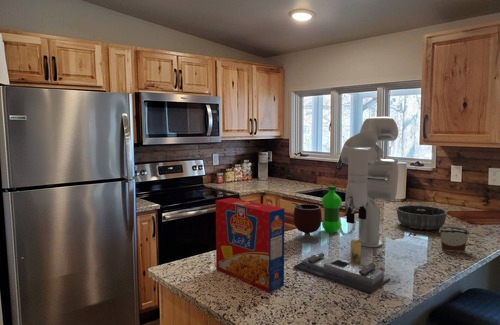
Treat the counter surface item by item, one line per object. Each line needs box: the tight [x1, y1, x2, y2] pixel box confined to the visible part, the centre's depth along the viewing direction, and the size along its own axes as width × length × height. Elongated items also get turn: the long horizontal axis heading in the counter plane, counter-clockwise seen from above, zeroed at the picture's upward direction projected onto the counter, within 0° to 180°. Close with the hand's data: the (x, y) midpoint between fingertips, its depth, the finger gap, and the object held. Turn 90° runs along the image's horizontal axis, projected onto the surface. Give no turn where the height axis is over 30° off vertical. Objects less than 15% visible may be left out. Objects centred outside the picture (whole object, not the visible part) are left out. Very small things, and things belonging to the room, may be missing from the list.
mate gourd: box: [291, 201, 323, 245], centre depth 175 cm, size 16×14×20 cm
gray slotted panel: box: [293, 252, 391, 295], centre depth 134 cm, size 16×32×6 cm, turn 45°
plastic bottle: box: [321, 185, 343, 234], centre depth 189 cm, size 10×10×25 cm
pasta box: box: [215, 197, 285, 294], centre depth 130 cm, size 28×8×28 cm, turn 45°
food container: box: [438, 225, 470, 253], centre depth 162 cm, size 12×6×10 cm, turn 74°
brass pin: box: [349, 239, 362, 265], centre depth 142 cm, size 4×4×10 cm
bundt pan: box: [395, 204, 448, 231], centre depth 200 cm, size 26×26×10 cm
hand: (356, 220), depth 140 cm, fingers open, 9 cm apart
